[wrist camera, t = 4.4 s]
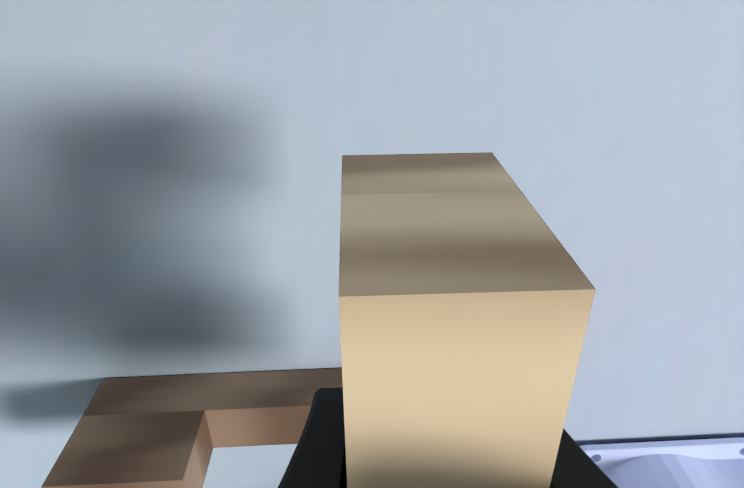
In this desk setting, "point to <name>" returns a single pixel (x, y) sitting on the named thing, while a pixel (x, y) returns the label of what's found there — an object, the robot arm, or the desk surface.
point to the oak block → (453, 325)
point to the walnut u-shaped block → (182, 425)
